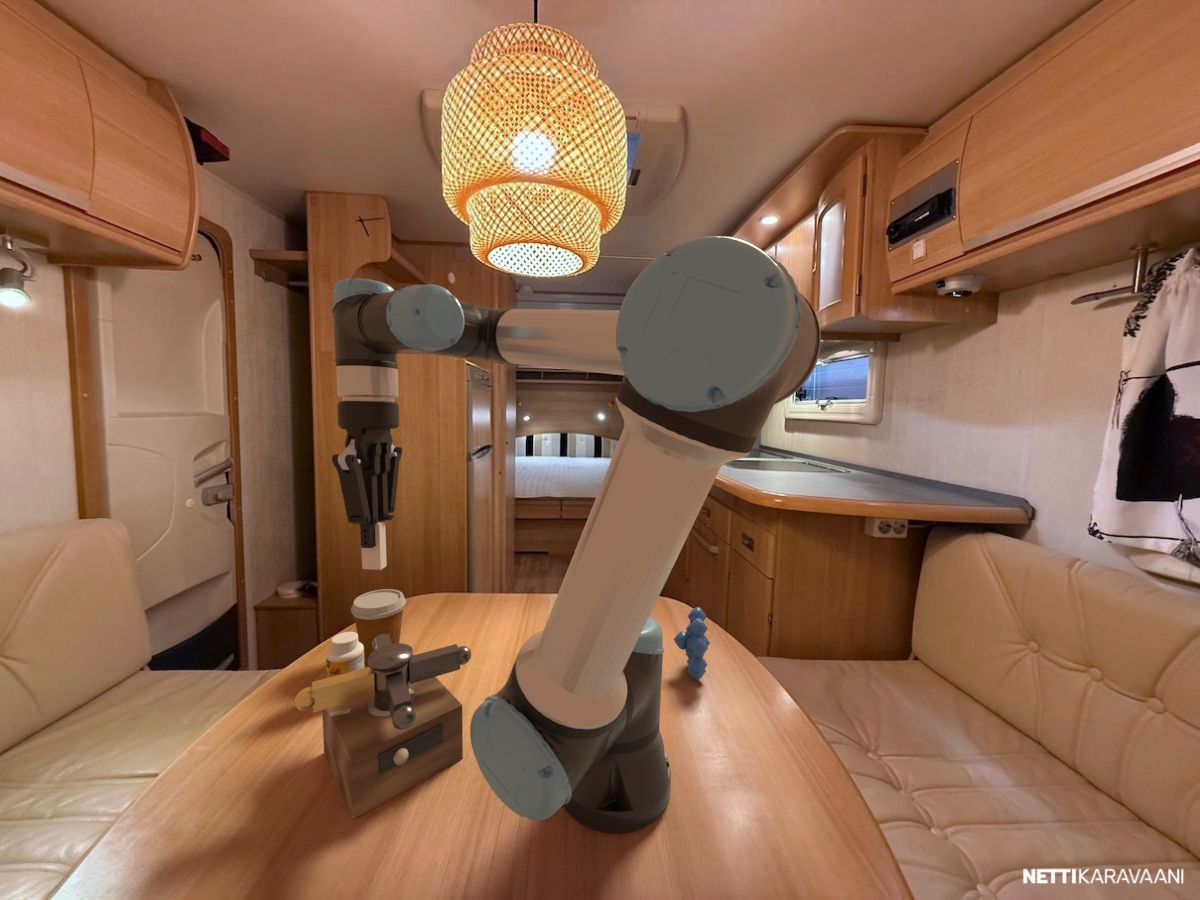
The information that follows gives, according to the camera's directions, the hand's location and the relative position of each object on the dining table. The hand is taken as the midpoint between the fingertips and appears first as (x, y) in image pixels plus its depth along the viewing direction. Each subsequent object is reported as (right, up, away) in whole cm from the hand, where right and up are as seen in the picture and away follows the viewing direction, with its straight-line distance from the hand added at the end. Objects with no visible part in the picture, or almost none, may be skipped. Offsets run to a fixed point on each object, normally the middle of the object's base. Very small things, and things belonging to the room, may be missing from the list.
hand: (374, 567), depth 64 cm
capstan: (+3, -18, -1) cm, 19 cm away
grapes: (+49, -26, +22) cm, 60 cm away
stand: (+3, -27, 0) cm, 27 cm away
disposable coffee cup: (-11, -24, +24) cm, 36 cm away
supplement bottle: (-11, -25, +13) cm, 30 cm away
